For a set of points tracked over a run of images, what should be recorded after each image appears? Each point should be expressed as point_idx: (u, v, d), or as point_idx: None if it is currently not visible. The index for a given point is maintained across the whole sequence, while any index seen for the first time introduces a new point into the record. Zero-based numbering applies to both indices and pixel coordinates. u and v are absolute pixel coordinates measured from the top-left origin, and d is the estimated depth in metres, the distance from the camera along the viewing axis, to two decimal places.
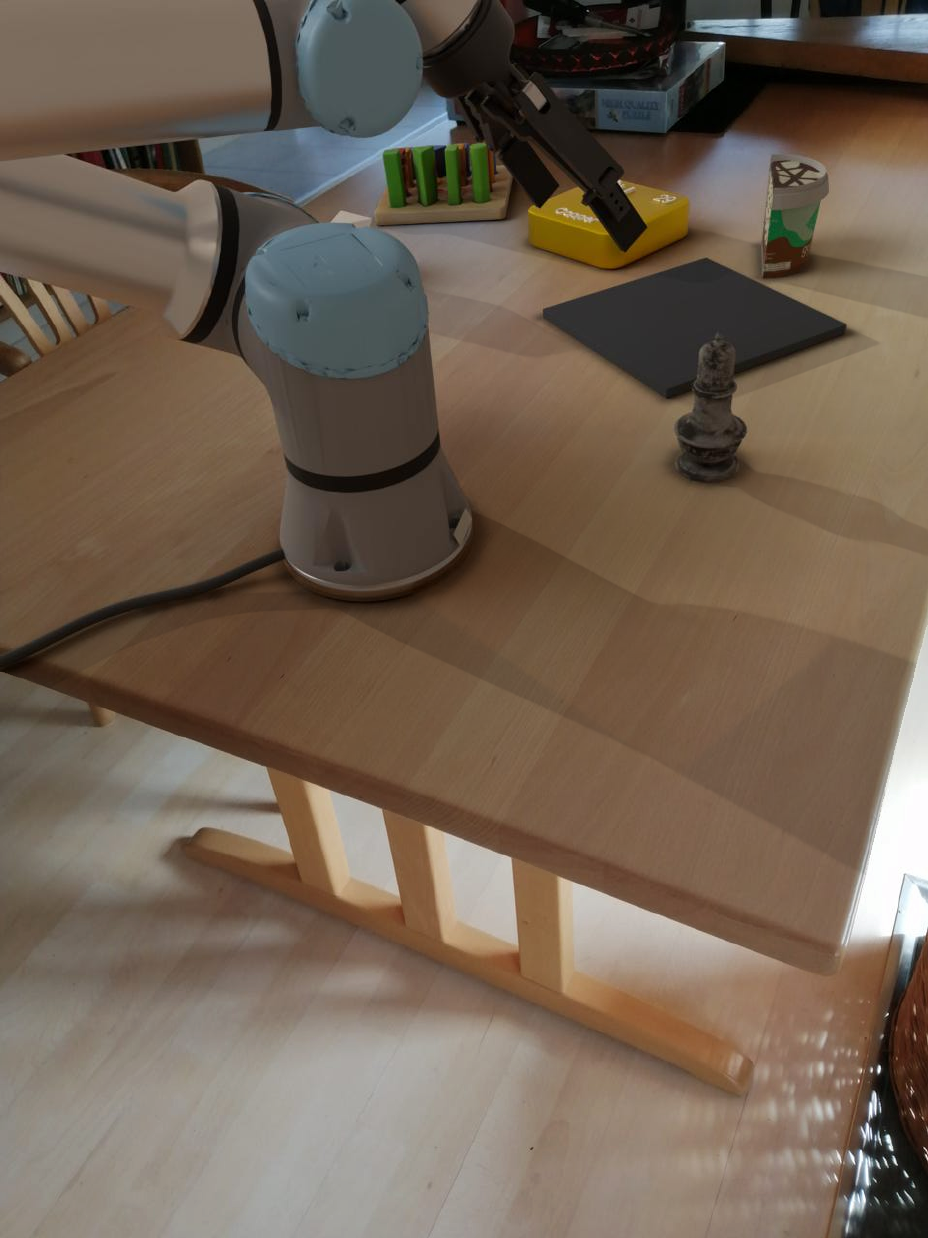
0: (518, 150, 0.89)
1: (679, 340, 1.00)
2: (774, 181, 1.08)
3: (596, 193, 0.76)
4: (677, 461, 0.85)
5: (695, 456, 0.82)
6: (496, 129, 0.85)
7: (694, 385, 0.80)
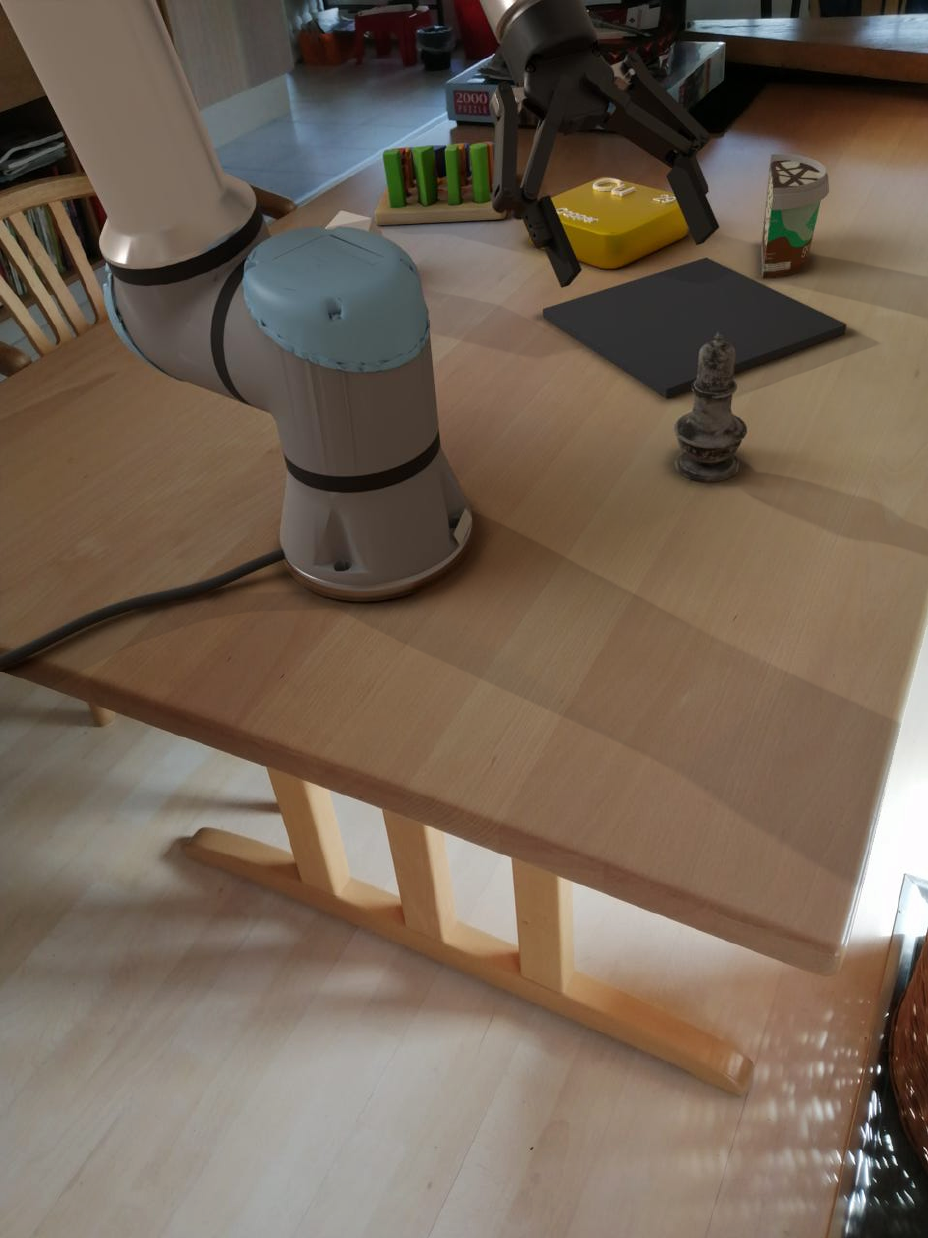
0: None
1: (679, 340, 1.00)
2: (774, 181, 1.08)
3: (705, 133, 0.84)
4: (677, 461, 0.85)
5: (695, 456, 0.82)
6: None
7: (694, 385, 0.80)
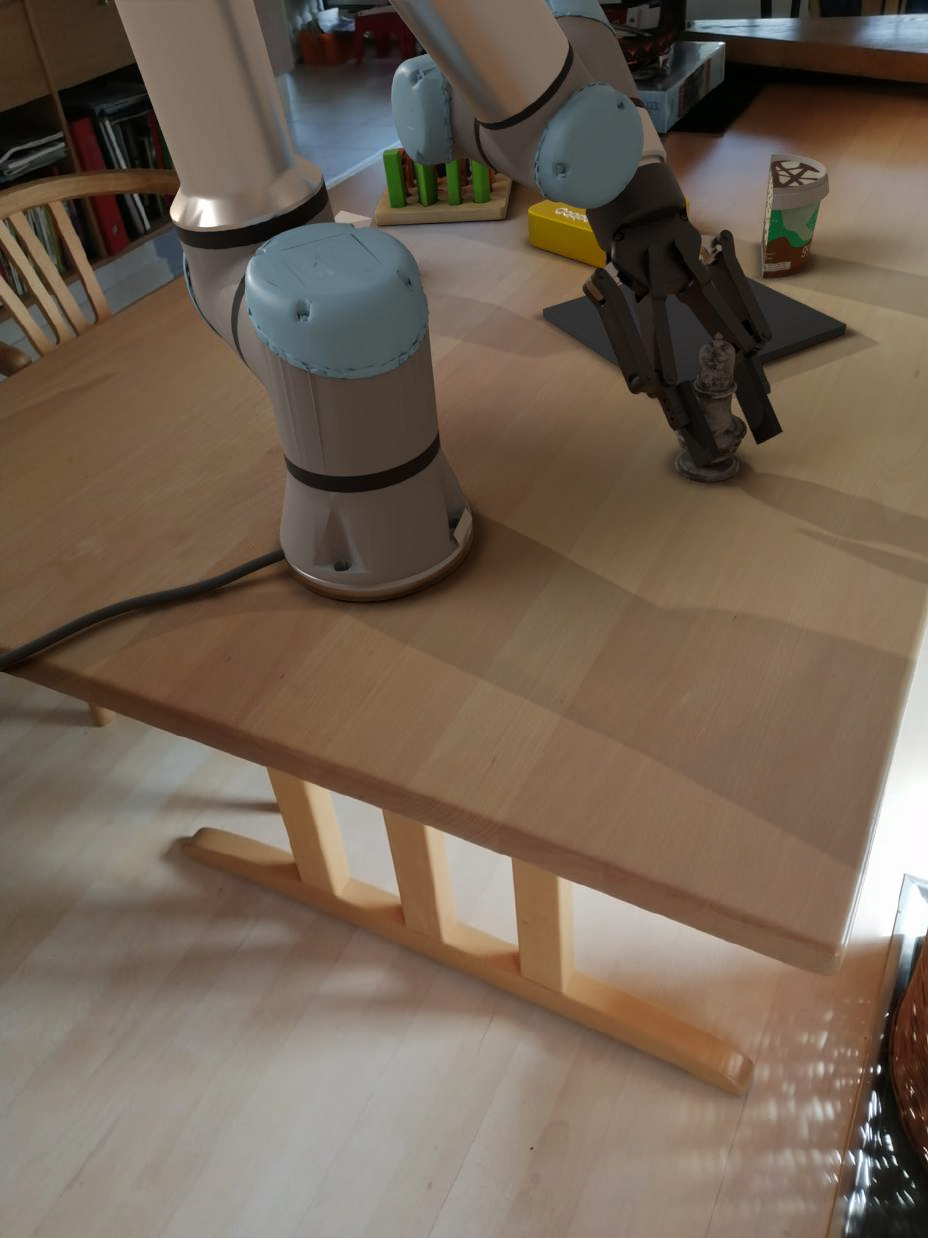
0: None
1: (679, 340, 1.00)
2: (774, 181, 1.08)
3: (768, 332, 0.81)
4: (677, 461, 0.85)
5: None
6: None
7: (694, 385, 0.80)
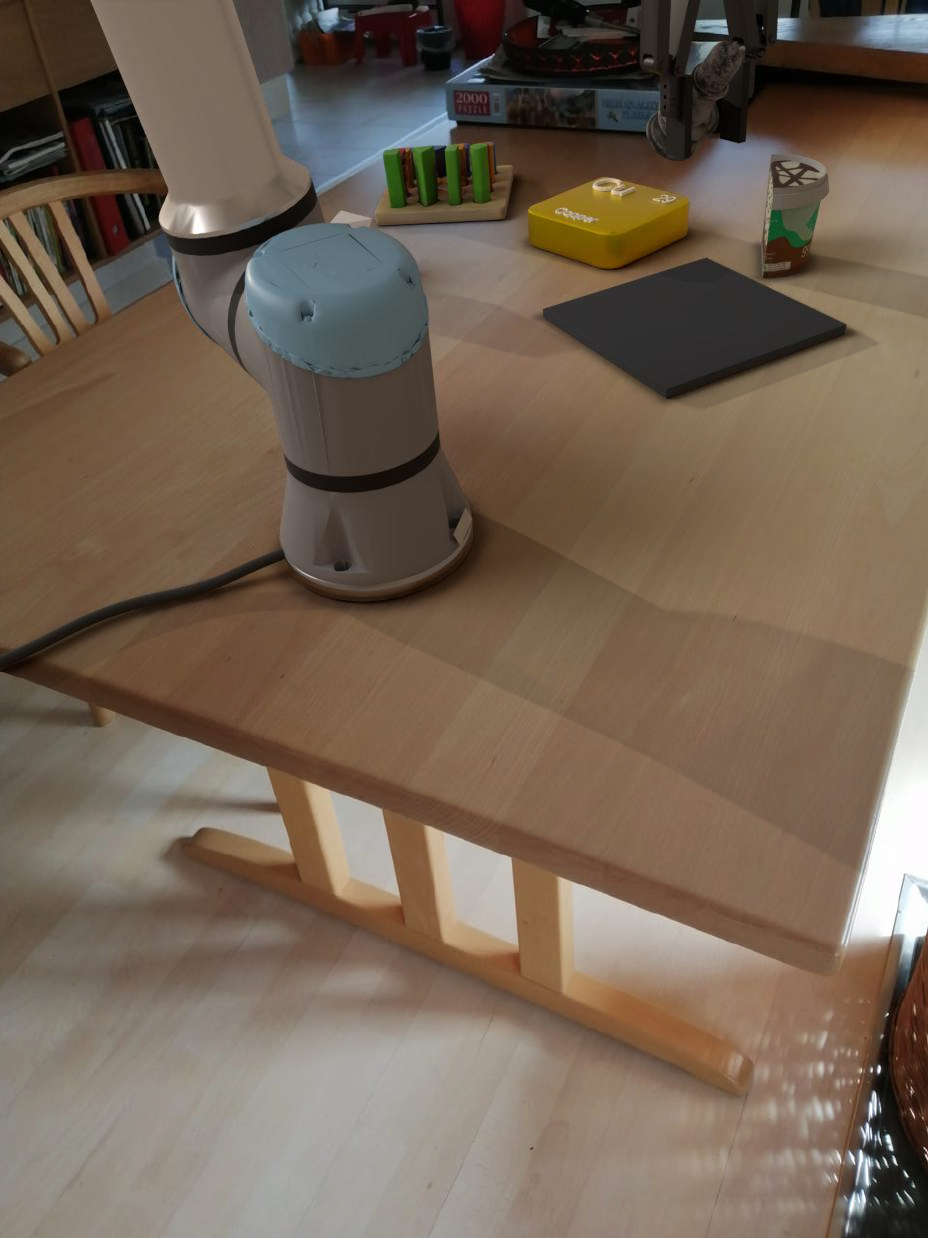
0: None
1: (679, 340, 1.00)
2: (774, 181, 1.08)
3: (774, 37, 0.87)
4: (649, 124, 0.93)
5: None
6: None
7: (694, 74, 0.87)
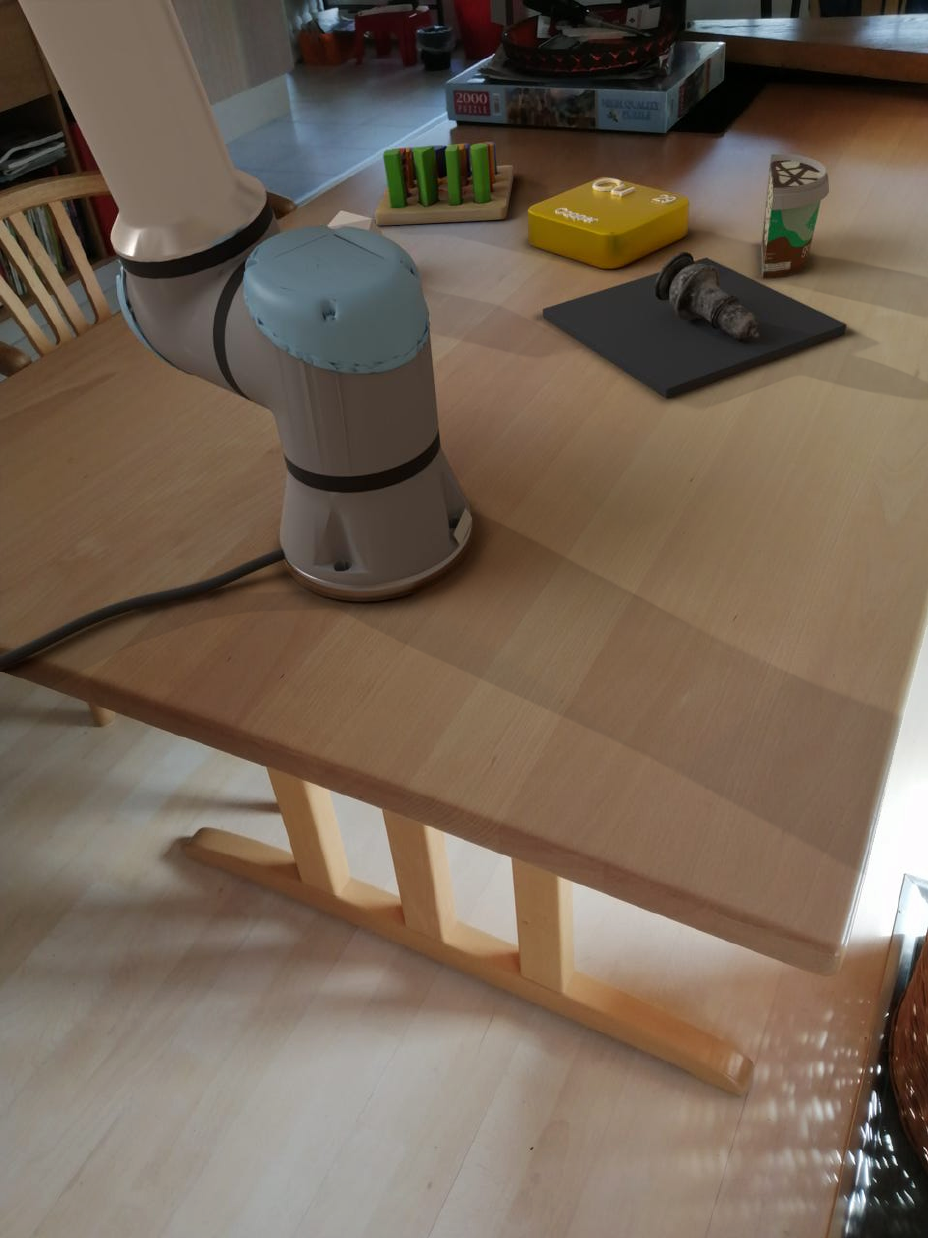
0: None
1: (679, 340, 1.00)
2: (774, 181, 1.08)
3: None
4: (662, 272, 1.01)
5: (671, 304, 1.02)
6: None
7: (716, 313, 0.98)
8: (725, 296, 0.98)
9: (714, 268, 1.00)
